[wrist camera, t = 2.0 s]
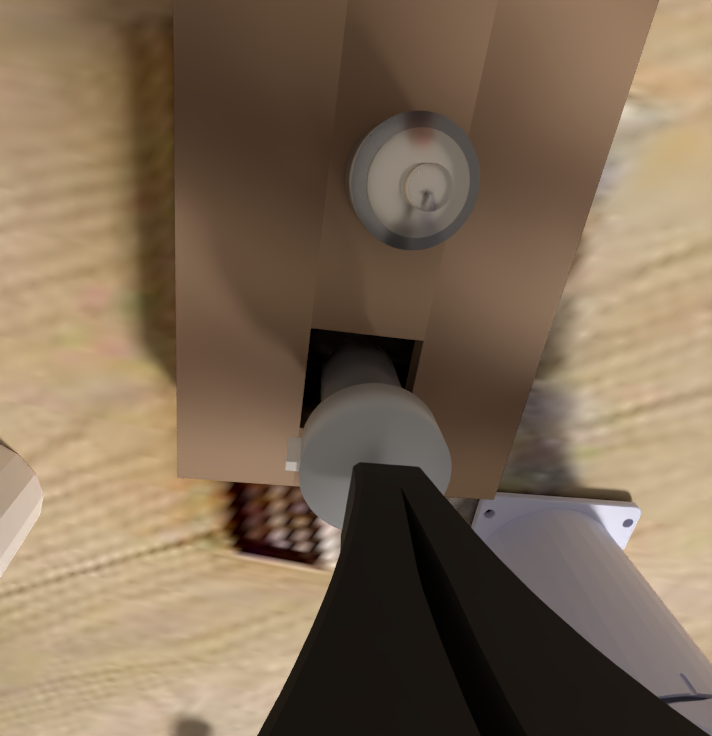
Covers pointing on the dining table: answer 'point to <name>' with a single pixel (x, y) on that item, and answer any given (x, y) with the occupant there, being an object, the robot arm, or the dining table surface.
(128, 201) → the dining table surface
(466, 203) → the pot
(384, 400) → the knob grey
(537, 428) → the dining table surface
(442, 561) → the robot arm
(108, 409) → the dining table surface
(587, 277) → the dining table surface
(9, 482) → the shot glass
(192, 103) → the mount
